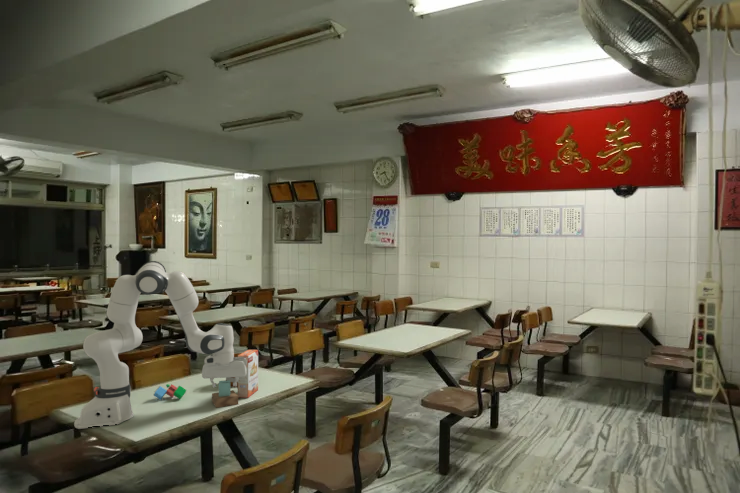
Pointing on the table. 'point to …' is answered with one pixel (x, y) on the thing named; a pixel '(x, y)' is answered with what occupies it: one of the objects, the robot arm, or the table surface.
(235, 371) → the robot arm
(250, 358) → the cracker box
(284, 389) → the table surface
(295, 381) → the table surface
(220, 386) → the teal block
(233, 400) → the walnut base block
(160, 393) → the building blocks
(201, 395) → the table surface
